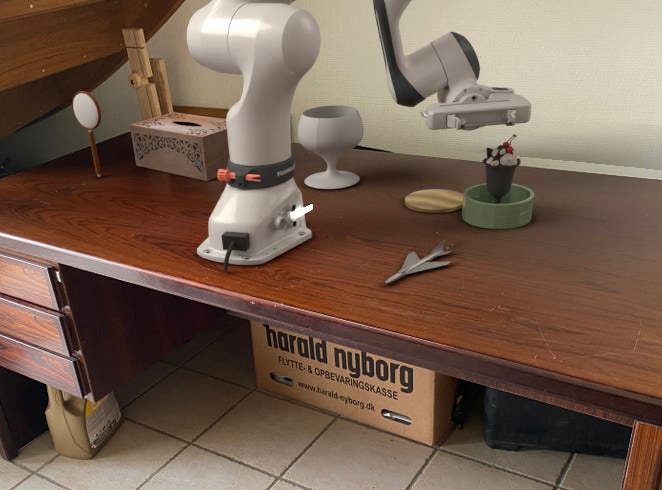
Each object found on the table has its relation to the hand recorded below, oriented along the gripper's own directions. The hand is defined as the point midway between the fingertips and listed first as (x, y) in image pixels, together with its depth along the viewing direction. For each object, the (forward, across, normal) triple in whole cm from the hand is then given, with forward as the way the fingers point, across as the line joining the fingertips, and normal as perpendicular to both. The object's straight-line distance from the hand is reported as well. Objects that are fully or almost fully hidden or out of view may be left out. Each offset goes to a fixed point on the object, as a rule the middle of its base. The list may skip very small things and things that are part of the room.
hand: (486, 123), depth 138 cm
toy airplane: (+31, -17, +14) cm, 38 cm away
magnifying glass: (-31, -84, +14) cm, 91 cm away
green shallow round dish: (+12, 0, +14) cm, 19 cm away
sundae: (+12, 0, +14) cm, 19 cm away
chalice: (-15, -29, +14) cm, 36 cm away
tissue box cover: (-36, -62, +14) cm, 73 cm away
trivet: (+2, -10, +14) cm, 17 cm away
